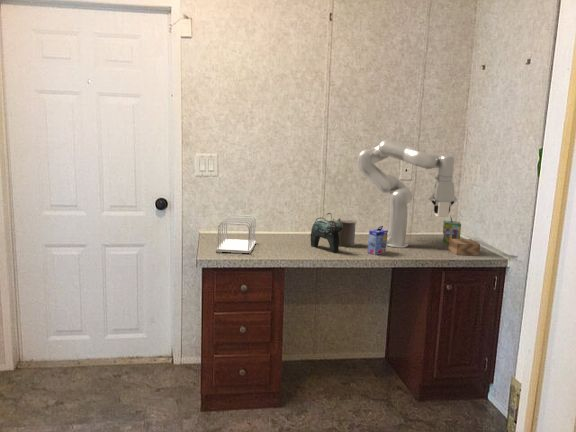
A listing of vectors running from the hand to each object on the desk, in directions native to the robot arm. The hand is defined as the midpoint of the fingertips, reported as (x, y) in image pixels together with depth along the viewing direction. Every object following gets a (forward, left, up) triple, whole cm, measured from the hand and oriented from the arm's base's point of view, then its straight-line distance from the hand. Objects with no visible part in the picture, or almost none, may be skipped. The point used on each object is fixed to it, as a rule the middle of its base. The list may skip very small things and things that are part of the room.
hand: (441, 212), depth 267 cm
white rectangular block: (0, 0, -2) cm, 2 cm away
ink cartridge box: (-35, -6, -21) cm, 41 cm away
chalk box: (+16, +26, -21) cm, 37 cm away
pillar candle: (-49, +10, -21) cm, 54 cm away
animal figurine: (-62, -1, -21) cm, 65 cm away
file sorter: (-108, -1, -21) cm, 110 cm away
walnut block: (+13, -1, -21) cm, 25 cm away
